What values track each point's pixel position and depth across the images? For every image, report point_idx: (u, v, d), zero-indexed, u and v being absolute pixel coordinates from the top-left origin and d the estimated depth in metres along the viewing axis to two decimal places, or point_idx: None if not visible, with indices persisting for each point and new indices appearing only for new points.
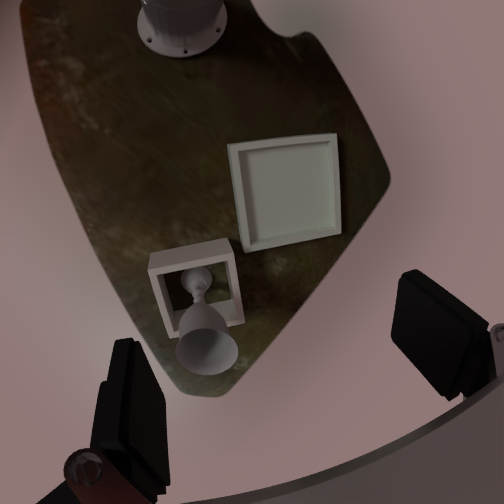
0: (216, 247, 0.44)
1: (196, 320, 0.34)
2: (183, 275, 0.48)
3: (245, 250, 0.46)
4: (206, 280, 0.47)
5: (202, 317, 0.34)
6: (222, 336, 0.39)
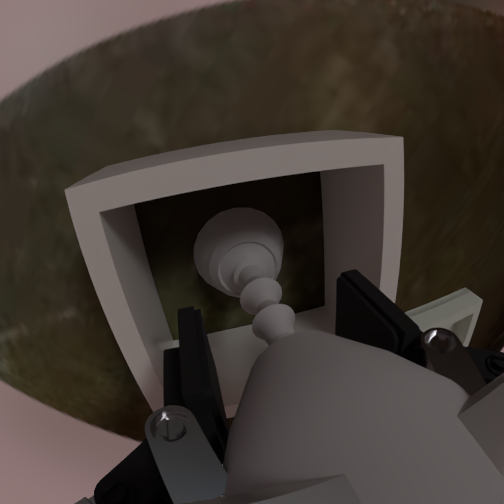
0: None
1: None
2: (261, 217, 0.16)
3: None
4: None
5: None
6: None
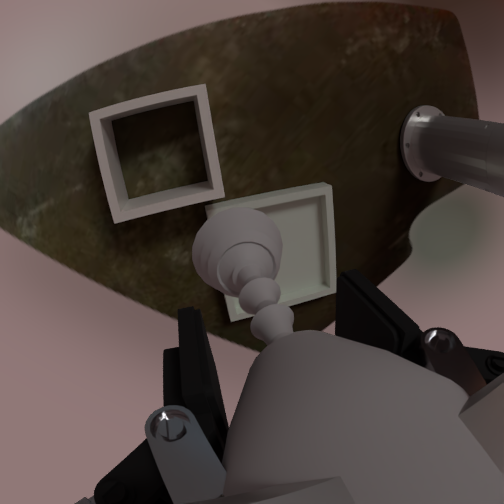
0: None
1: None
2: (260, 217, 0.16)
3: (209, 211, 0.36)
4: None
5: None
6: None
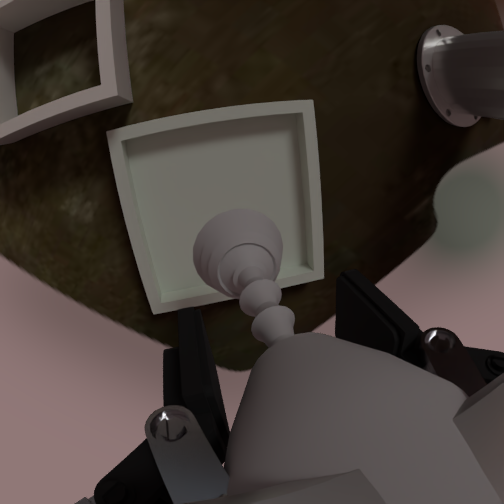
0: (122, 73, 0.18)
1: None
2: (261, 219, 0.16)
3: (111, 132, 0.20)
4: None
5: None
6: None
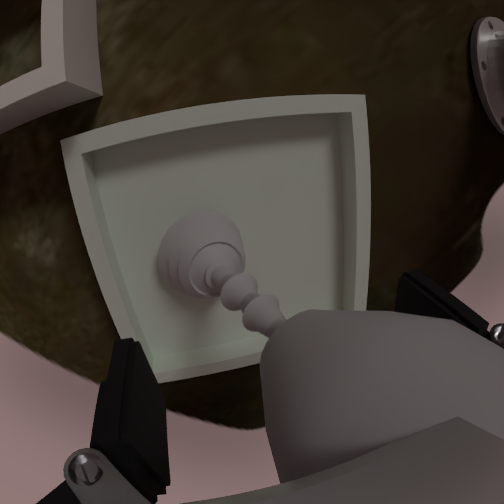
0: (82, 51, 0.10)
1: None
2: (221, 219, 0.17)
3: (67, 141, 0.12)
4: None
5: None
6: None
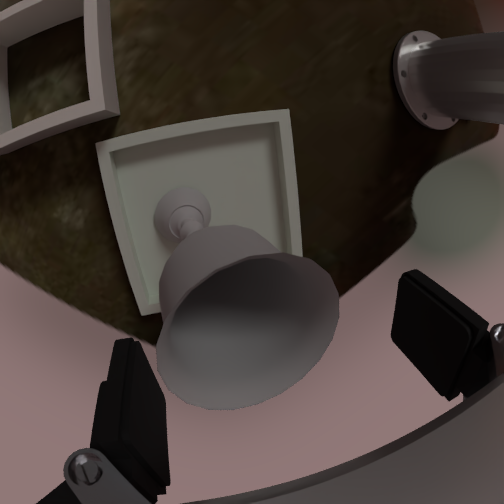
0: (109, 88, 0.19)
1: None
2: (195, 193, 0.26)
3: (99, 143, 0.21)
4: None
5: None
6: (184, 326, 0.15)
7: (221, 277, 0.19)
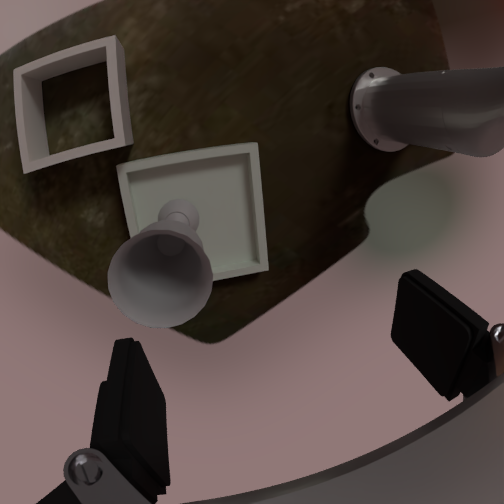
0: (127, 126, 0.29)
1: None
2: (187, 203, 0.35)
3: (119, 166, 0.31)
4: None
5: None
6: (145, 283, 0.24)
7: (180, 258, 0.27)
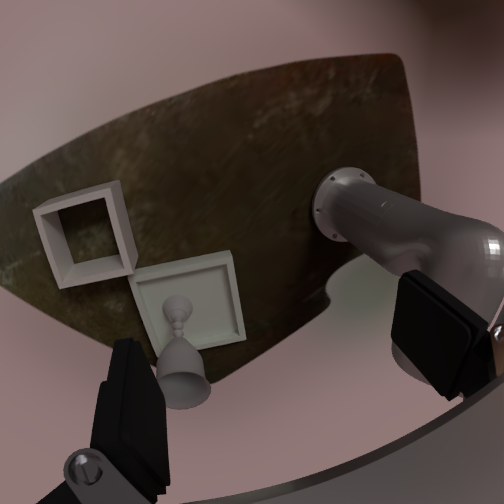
0: (132, 252, 0.41)
1: (203, 371, 0.35)
2: (183, 298, 0.48)
3: (130, 278, 0.43)
4: (183, 322, 0.48)
5: (204, 373, 0.36)
6: (167, 376, 0.38)
7: None
